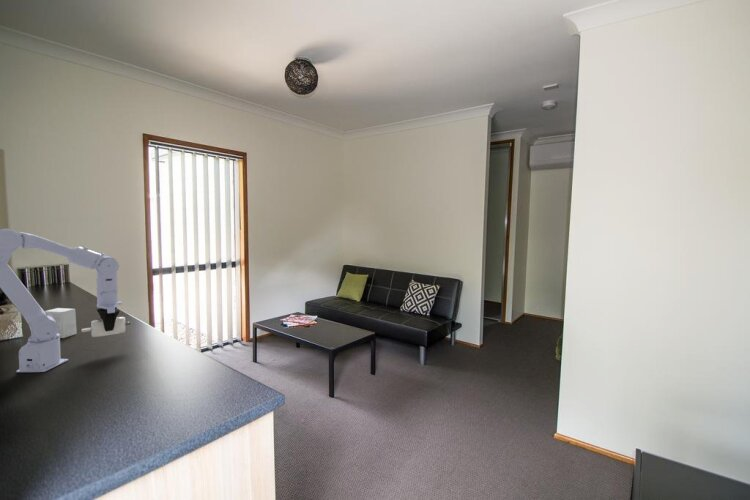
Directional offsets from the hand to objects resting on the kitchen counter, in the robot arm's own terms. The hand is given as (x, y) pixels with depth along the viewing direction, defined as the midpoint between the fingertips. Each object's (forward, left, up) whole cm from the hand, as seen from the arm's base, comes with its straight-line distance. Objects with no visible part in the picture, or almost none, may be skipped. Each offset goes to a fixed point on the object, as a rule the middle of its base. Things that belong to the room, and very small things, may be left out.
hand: (108, 329), depth 122 cm
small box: (+19, +30, -9) cm, 37 cm away
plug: (0, 0, -2) cm, 2 cm away
